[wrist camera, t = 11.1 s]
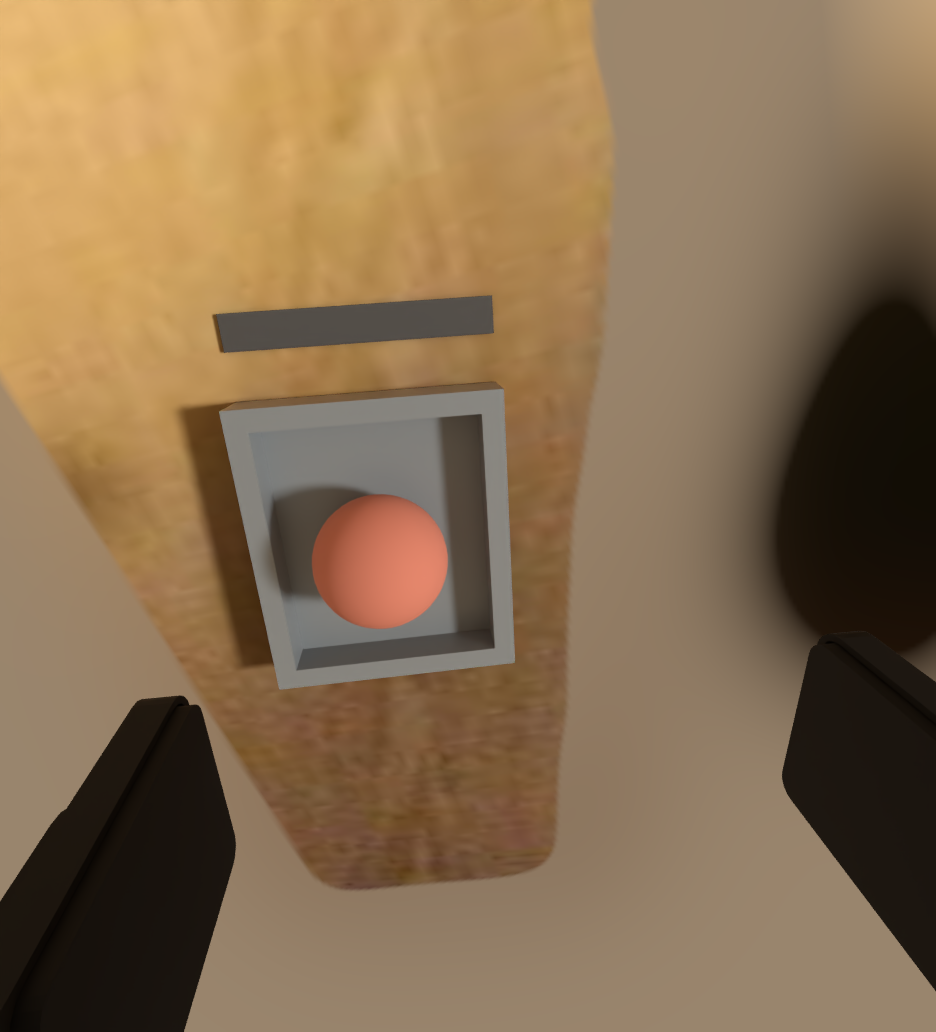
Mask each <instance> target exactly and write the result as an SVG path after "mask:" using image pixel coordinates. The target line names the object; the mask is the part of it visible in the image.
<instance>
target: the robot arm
mask: <svg viewBox="0 0 936 1032" xmlns="http://www.w3.org/2000/svg"><path fill="white" fill-rule="evenodd" d="M782 779H783V784H784V788H785V790H786V792H787V794H788V796H789V797H790V799H791V800H792V801H793V803H794V804H795V806H796V807H797V808H798V809H799V811H800V812H801V813H802V815H803V816H804V818H805V819H806V820H807V821H808V823H809V824H810V825H811V827H812V828H813V829H814V831H815V832H816V833H817V835H818V836H819V837H820V838H821V840H822V841H823V843H824V844H825V845H826V847H827V848H828V849H829V851H830V852H831V853H832V855H833V856H834V857H835V858H836V860H837V861H838V862H839V864H840V865H841V866H842V868H843V869H844V870H845V872H846V873H847V874H848V875H849V877H850V878H851V880H852V881H853V882H854V884H855V885H856V886H857V887H858V889H859V890H860V892H861V893H862V894H863V895H864V897H865V898H866V899H867V901H868V902H869V903H870V905H871V906H872V907H873V909H874V910H875V911H876V913H877V914H878V915H879V916H880V918H881V919H882V920H883V922H884V923H885V925H886V926H887V927H888V929H889V930H890V931H891V933H892V934H893V935H894V936H895V938H896V939H897V940H898V942H899V943H900V944H901V946H902V947H903V948H904V950H905V951H906V952H907V954H908V955H909V956H910V958H911V959H912V960H913V962H914V963H915V964H916V965H917V967H918V968H919V970H920V971H921V972H922V973H923V975H924V976H925V977H926V979H927V980H928V981H929V983H930V984H931V985H932V987H933V988H934V989H935V991H936V682H935V681H933V680H932V679H931V678H929V677H928V676H927V675H925V674H924V673H923V672H921V671H920V670H918V669H917V668H916V667H914V666H913V665H912V664H910V663H909V662H908V661H906V660H905V659H904V658H902V657H901V656H900V655H898V654H897V653H896V652H894V651H893V650H892V649H890V648H889V647H888V646H886V645H885V644H884V643H882V642H881V641H879V640H878V639H877V638H875V637H874V636H873V635H871V634H869V633H867V632H862V631H856V632H846V633H835V634H827V635H824V636H822V637H821V638H820V639H819V641H818V644H817V645H815V646H813V647H812V648H811V650H810V653H809V657H808V661H807V666H806V670H805V674H804V679H803V683H802V688H801V692H800V697H799V701H798V705H797V709H796V714H795V718H794V723H793V727H792V731H791V736H790V740H789V745H788V749H787V754H786V758H785V762H784V767H783V771H782ZM235 848H236V842H235V834H234V830H233V826H232V823H231V819H230V815H229V811H228V808H227V804H226V800H225V797H224V793H223V789H222V785H221V781H220V778H219V774H218V770H217V766H216V763H215V759H214V755H213V751H212V747H211V744H210V740H209V736H208V733H207V729H206V725H205V722H204V717H203V714H202V711H201V708H200V707H199V706H198V705H189V703H188V700H187V699H186V698H185V697H184V696H171V697H161V698H151V699H141V700H139V701H137V702H136V703H135V705H134V706H133V707H132V708H131V710H130V712H129V713H128V715H127V716H126V718H125V720H124V721H123V722H122V724H121V726H120V727H119V729H118V730H117V732H116V733H115V735H114V736H113V738H112V739H111V741H110V742H109V744H108V746H107V747H106V749H105V750H104V752H103V753H102V755H101V756H100V758H99V760H98V761H97V762H96V764H95V766H94V767H93V769H92V770H91V772H90V773H89V775H88V776H87V778H86V780H85V781H84V783H83V784H82V786H81V787H80V789H79V790H78V792H77V794H76V795H75V796H74V798H73V800H72V801H71V803H70V804H69V806H68V807H67V809H66V810H64V811H62V812H61V813H60V814H59V815H58V817H57V818H56V819H55V820H54V821H53V823H52V824H51V825H50V827H49V828H48V830H47V831H46V833H45V834H44V836H43V837H42V839H41V840H40V842H39V843H38V845H37V846H36V848H35V849H34V851H33V853H32V854H31V856H30V857H29V859H28V860H27V862H26V863H25V865H24V866H23V868H22V869H21V871H20V872H19V874H18V875H17V877H16V879H15V880H14V881H13V883H12V884H11V886H10V887H9V889H8V890H7V892H6V894H5V895H4V896H3V898H2V900H1V901H0V1032H184V1029H185V1026H186V1023H187V1019H188V1016H189V1013H190V1009H191V1006H192V1002H193V999H194V995H195V992H196V989H197V985H198V982H199V979H200V975H201V972H202V969H203V965H204V962H205V958H206V955H207V952H208V948H209V945H210V942H211V938H212V935H213V931H214V928H215V925H216V921H217V918H218V915H219V911H220V907H221V904H222V901H223V898H224V894H225V891H226V888H227V884H228V881H229V877H230V874H231V871H232V867H233V863H234V859H235V850H236V849H235Z"/></svg>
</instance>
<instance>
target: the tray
mask: <svg viewBox="0 0 936 1032" xmlns="http://www.w3.org/2000/svg"><path fill="white" fill-rule="evenodd" d="M219 415H220V419H221V424H222V428H223V433H224V437H225V442H226V447H227V451H228V456H229V460H230V465H231V470H232V474H233V479H234V483H235V488H236V493H237V497H238V502H239V506H240V511H241V516H242V520H243V525H244V529H245V534H246V538H247V543H248V548H249V552H250V557H251V561H252V566H253V571H254V575H255V580H256V584H257V589H258V594H259V598H260V603H261V607H262V612H263V616H264V621H265V626H266V630H267V635H268V639H269V644H270V649H271V653H272V658H273V662H274V667H275V672H276V676H277V681H278V685H279V690H280V689H289V688H297V687H306V686H315V685H324V684H333V683H341V682H350V681H359V680H368V679H376V678H385V677H394V676H403V675H412V674H420V673H429V672H438V671H447V670H455V669H464V668H473V667H482V666H491V665H499V664H508V663H515V651H514V627H513V603H512V579H511V555H510V530H509V506H508V482H507V458H506V434H505V410H504V389H503V388H502V387H501V386H500V385H499V384H497V383H496V382H486V383H473V384H460V385H447V386H435V387H422V388H409V389H396V390H384V391H371V392H358V393H345V394H333V395H320V396H307V397H295V398H282V399H269V400H256V401H244V402H235V403H233V404H231V405H230V406H228V407H226V408H224V409H222V410H221V411H219ZM374 494H386V495H394V496H398V497H401V498H404V499H407V500H409V501H411V502H413V503H415V504H417V505H418V506H420V507H421V508H423V509H424V510H425V511H426V512H427V513H428V514H429V515H430V516H431V517H432V518H433V520H434V521H435V522H436V524H437V525H438V527H439V528H440V530H441V533H442V535H443V537H444V541H445V544H446V548H447V554H448V567H447V574H446V578H445V581H444V584H443V587H442V589H441V591H440V593H439V595H438V596H437V598H436V599H435V601H434V602H433V603H432V605H431V606H430V607H429V608H428V609H427V610H426V611H425V612H424V613H422V614H421V615H420V616H418V617H417V618H415V619H414V620H412V621H410V622H408V623H406V624H403V625H401V626H397V627H393V628H387V629H372V628H365V627H361V626H358V625H355V624H352V623H350V622H348V621H346V620H345V619H343V618H341V617H340V616H339V615H337V614H336V613H335V612H334V611H333V610H332V609H331V608H330V607H329V606H328V605H327V604H326V603H325V601H324V600H323V598H322V597H321V595H320V593H319V591H318V589H317V586H316V584H315V581H314V577H313V570H312V553H313V548H314V544H315V541H316V538H317V535H318V533H319V531H320V530H321V528H322V526H323V525H324V523H325V522H326V520H327V519H328V518H329V517H330V516H331V515H332V514H333V513H334V512H335V511H336V510H338V509H339V508H340V507H341V506H343V505H344V504H346V503H348V502H350V501H352V500H354V499H357V498H359V497H363V496H367V495H374Z"/></svg>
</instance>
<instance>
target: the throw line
mask: <svg viewBox="0 0 936 1032" xmlns="http://www.w3.org/2000/svg"><path fill="white" fill-rule="evenodd" d="M216 315H217V320H218V325H219V330H220V335H221V340H222V344H223V349H224V353H227V352H240V351H254V350H268V349H282V348H296V347H309V346H323V345H337V344H351V343H365V342H378V341H392V340H406V339H420V338H434V337H447V336H461V335H475V334H489V333H494V330H493V308H492V296H478V297H463V298H449V299H434V300H419V301H404V302H390V303H375V304H360V305H345V306H331V307H316V308H301V309H286V310H272V311H257V312H242V313H227V314H216Z"/></svg>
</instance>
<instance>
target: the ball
mask: <svg viewBox="0 0 936 1032" xmlns="http://www.w3.org/2000/svg"><path fill="white" fill-rule="evenodd" d="M447 567H448V554H447V548H446V544H445V541H444V537H443V535H442V533H441V530H440V528H439V527H438V525H437V524H436V522H435V521H434V520H433V518H432V517H431V516H430V515H429V514H428V513H427V512H426V511H425V510H424V509H423V508H421V507H420V506H418V505H417V504H415V503H413V502H411V501H409V500H407V499H404V498H401V497H398V496H394V495H386V494H374V495H367V496H363V497H359V498H357V499H354V500H352V501H350V502H348V503H346V504H344V505H343V506H341V507H340V508H339V509H338V510H336V511H335V512H334V513H333V514H332V515H331V516H330V517H329V518H328V519H327V520H326V522H325V523H324V525H323V526H322V528H321V530H320V531H319V533H318V535H317V538H316V541H315V544H314V548H313V553H312V570H313V577H314V581H315V584H316V586H317V589H318V591H319V593H320V595H321V597H322V598H323V600H324V601H325V603H326V604H327V605H328V606H329V607H330V608H331V609H332V610H333V611H334V612H335V613H336V614H337V615H339V616H340V617H341V618H343V619H345V620H346V621H348V622H350V623H352V624H355V625H358V626H361V627H365V628H372V629H387V628H393V627H397V626H401V625H403V624H406V623H408V622H410V621H412V620H414V619H415V618H417V617H418V616H420V615H421V614H422V613H424V612H425V611H426V610H427V609H428V608H429V607H430V606H431V605H432V603H433V602H434V601H435V599H436V598H437V596H438V595H439V593H440V591H441V589H442V587H443V584H444V581H445V578H446V574H447Z"/></svg>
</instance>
